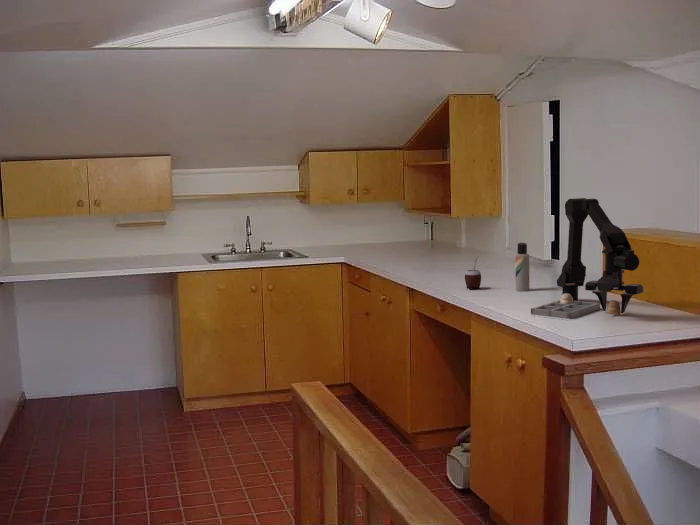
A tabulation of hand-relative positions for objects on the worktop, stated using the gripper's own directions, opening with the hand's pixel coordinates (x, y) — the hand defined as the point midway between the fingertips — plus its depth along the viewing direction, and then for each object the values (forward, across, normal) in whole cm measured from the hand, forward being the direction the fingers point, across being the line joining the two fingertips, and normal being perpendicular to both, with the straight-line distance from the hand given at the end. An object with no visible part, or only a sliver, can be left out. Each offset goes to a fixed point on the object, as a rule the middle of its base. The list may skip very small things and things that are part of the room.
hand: (613, 311), depth 278 cm
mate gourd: (+1, -73, +21) cm, 76 cm away
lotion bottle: (+1, -54, +29) cm, 61 cm away
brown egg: (+1, 0, 0) cm, 1 cm away
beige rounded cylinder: (0, -18, +1) cm, 19 cm away
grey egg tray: (+1, -15, -6) cm, 16 cm away
